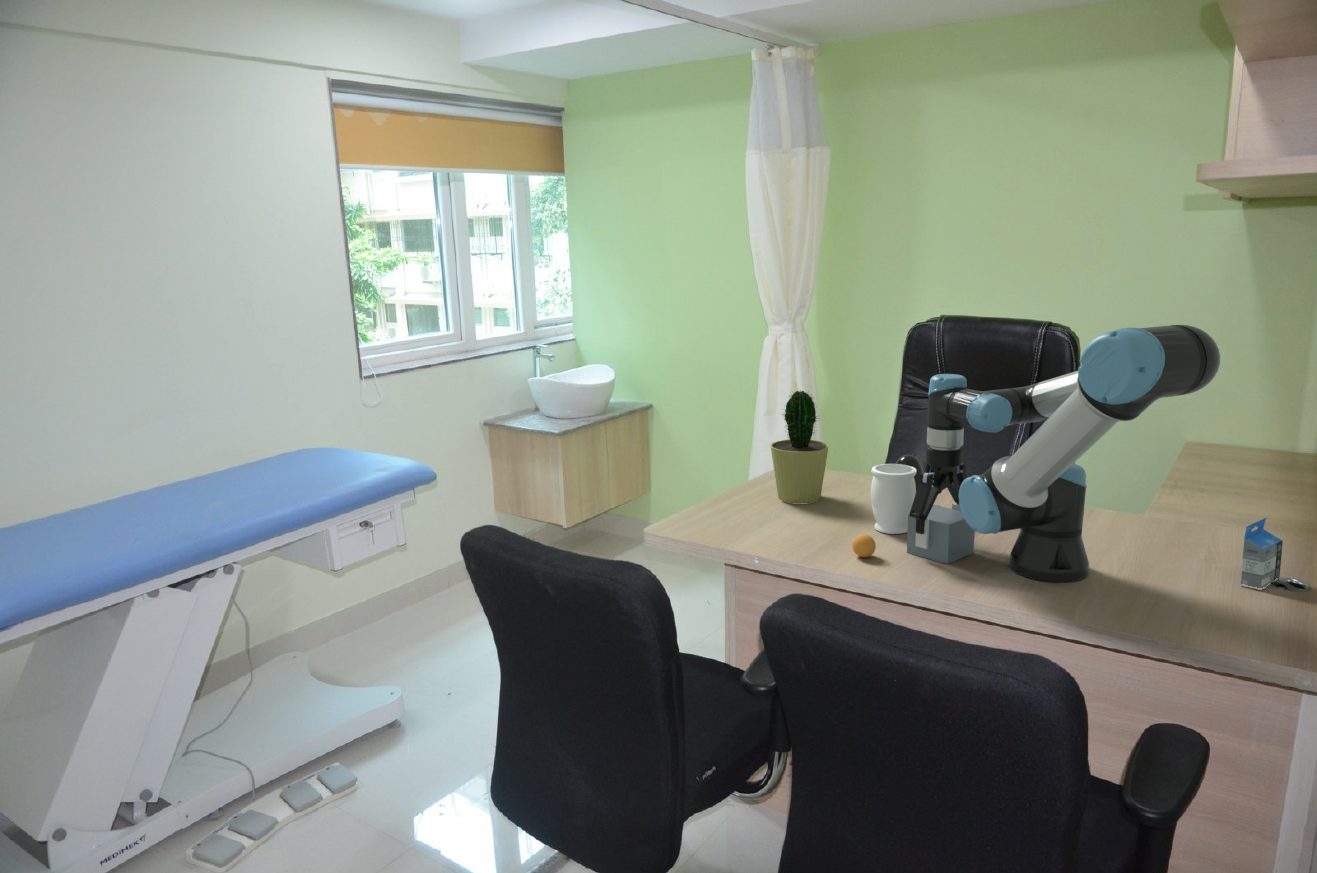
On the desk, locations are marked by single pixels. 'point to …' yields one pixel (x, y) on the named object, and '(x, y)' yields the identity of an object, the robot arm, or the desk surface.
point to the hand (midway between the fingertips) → (939, 539)
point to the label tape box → (1260, 556)
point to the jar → (892, 497)
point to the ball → (864, 545)
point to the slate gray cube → (943, 536)
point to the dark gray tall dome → (913, 462)
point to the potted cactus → (799, 453)
